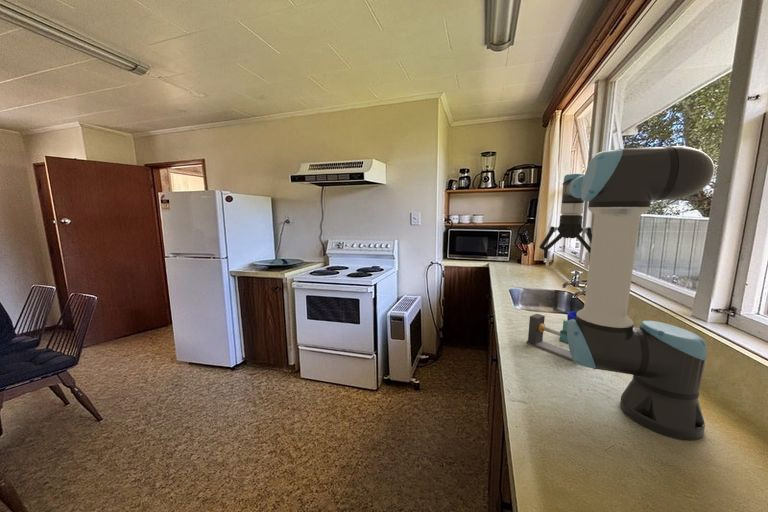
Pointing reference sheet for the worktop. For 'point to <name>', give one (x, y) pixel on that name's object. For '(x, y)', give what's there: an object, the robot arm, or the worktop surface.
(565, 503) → the worktop surface
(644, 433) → the worktop surface
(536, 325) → the grey slider rail stand
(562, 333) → the sleeve
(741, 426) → the worktop surface
